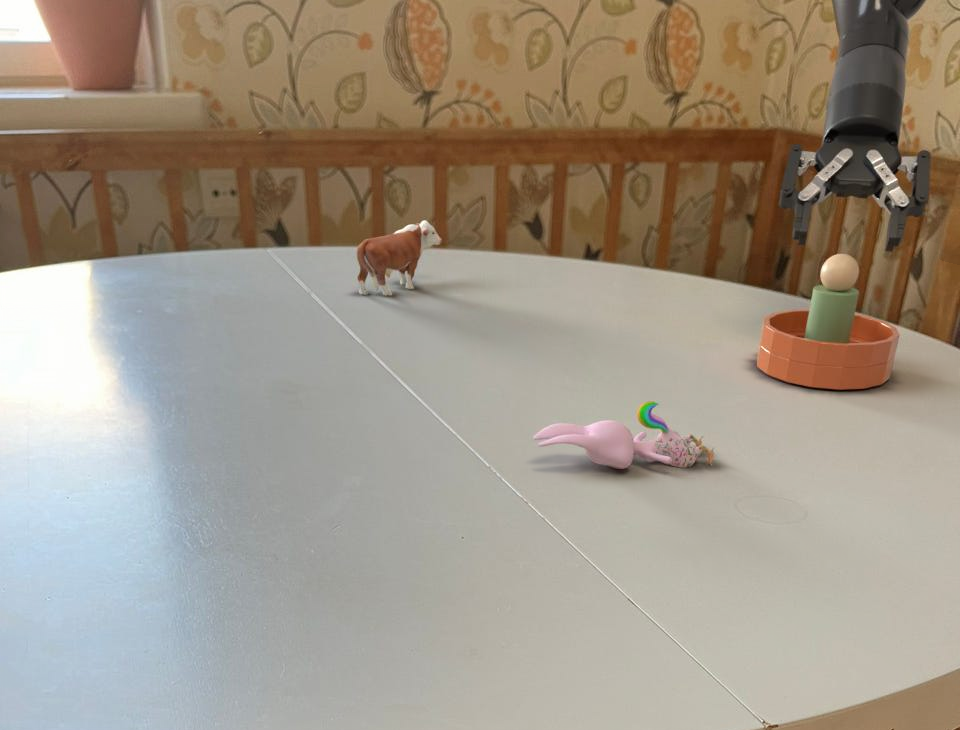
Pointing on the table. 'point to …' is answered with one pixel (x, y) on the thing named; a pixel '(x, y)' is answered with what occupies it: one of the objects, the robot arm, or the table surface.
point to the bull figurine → (394, 255)
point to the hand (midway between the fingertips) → (846, 243)
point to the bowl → (827, 353)
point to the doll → (834, 301)
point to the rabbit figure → (627, 441)
